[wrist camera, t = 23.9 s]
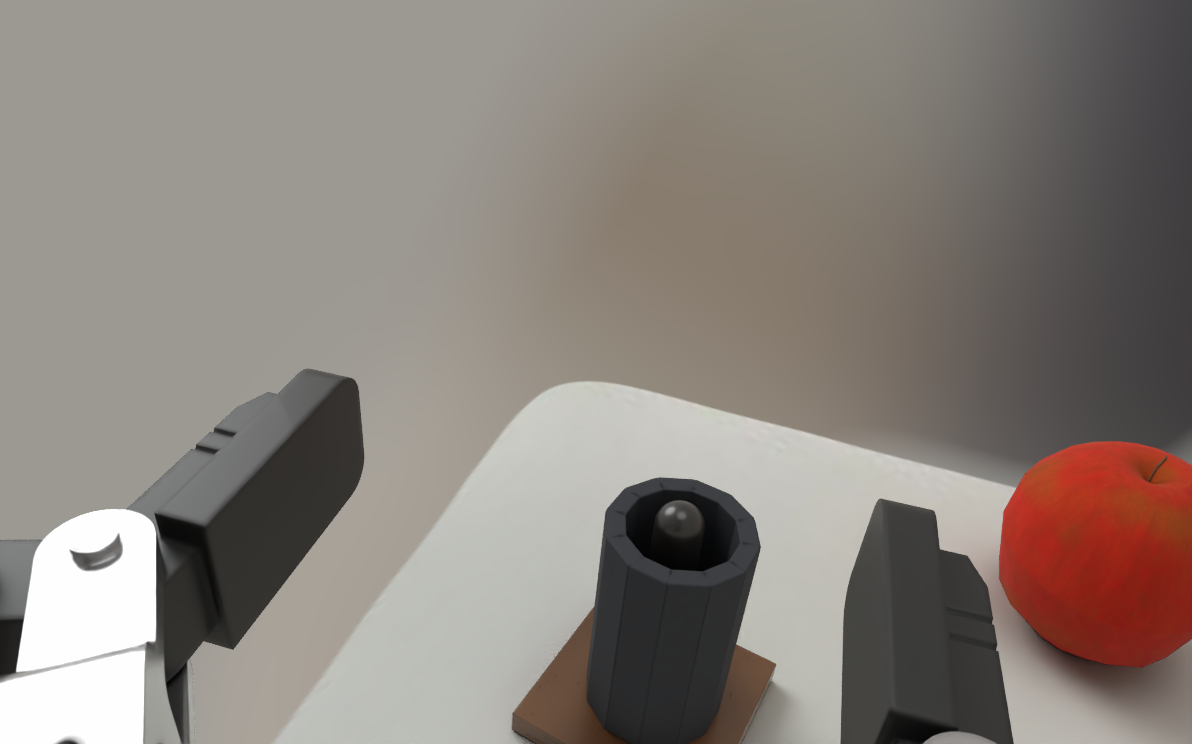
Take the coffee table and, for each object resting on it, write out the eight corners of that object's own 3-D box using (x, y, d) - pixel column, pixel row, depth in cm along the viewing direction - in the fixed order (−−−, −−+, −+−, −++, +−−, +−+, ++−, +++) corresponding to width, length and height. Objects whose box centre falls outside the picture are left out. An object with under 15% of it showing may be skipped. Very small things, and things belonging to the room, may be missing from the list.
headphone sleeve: (561, 705, 38) (577, 541, 33) (625, 616, 43) (648, 459, 37) (684, 775, 36) (722, 611, 30) (738, 673, 40) (780, 514, 35)
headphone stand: (511, 729, 38) (520, 528, 32) (609, 599, 45) (633, 410, 38) (695, 838, 35) (749, 637, 28) (771, 679, 42) (829, 487, 35)
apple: (1164, 592, 49) (1268, 430, 42) (1189, 736, 41) (1321, 563, 35) (977, 532, 52) (1048, 371, 45) (966, 655, 44) (1050, 481, 38)
